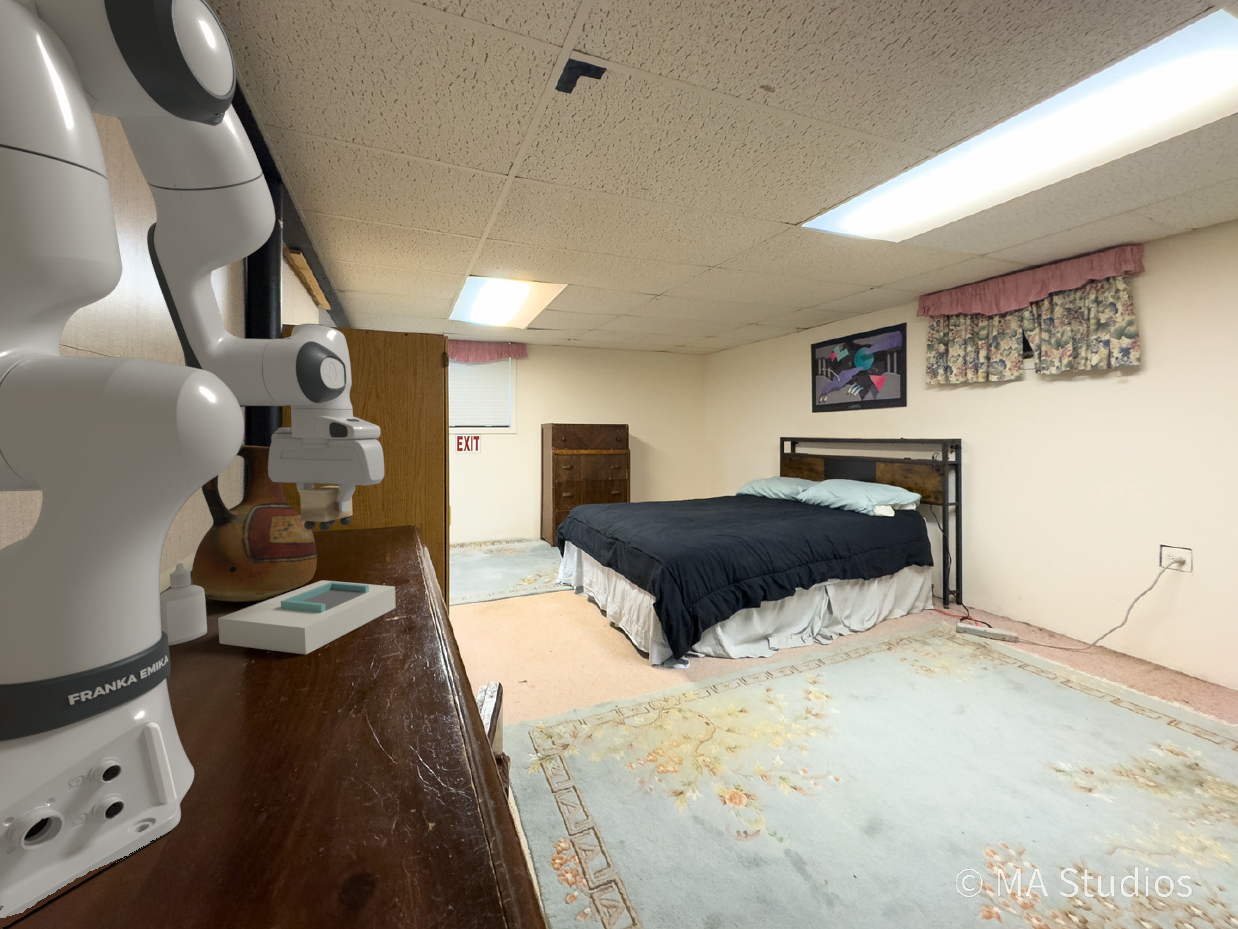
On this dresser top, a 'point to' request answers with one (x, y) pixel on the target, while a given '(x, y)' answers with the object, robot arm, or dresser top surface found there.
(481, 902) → the dresser top surface
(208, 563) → the ceramic pitcher
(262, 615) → the dock
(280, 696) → the dresser top surface
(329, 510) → the beige wheeled cart
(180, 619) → the eye dropper bottle
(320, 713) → the dresser top surface
